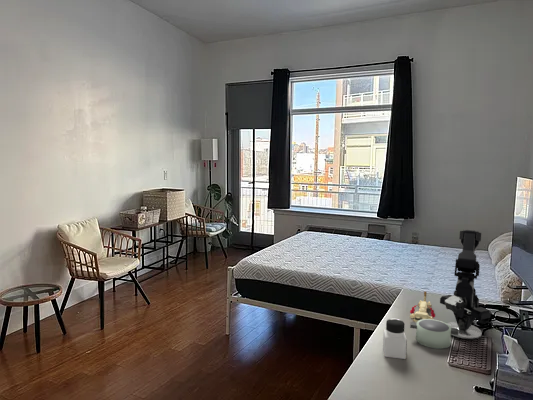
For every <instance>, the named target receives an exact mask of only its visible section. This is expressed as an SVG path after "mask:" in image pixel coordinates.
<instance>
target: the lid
mask: <svg viewBox="0 0 533 400" xmlns="http://www.w3.org/2000/svg"><path fill="white" fill-rule="evenodd" d="M447 324H448V325H450V327H451V328H457V329H458V335H454V334H451V336H453V337H456V338H461V339H464V340H476V339H475V338H477V339H480V338H481V337H482V333H483V332H482V330H481V329H480V328H479V327H477V326H475V325H474V324H471V325H470V327H469V328H468V329H467V330H466V329H465V318H459V326H458V325H457V321H451V322H447ZM479 337H480V338H479Z"/></svg>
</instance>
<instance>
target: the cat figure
mask: <svg viewBox="0 0 533 400" xmlns="http://www.w3.org/2000/svg"><path fill="white" fill-rule="evenodd" d="M427 294H428V293H427V291H424V292H423V300H421V299H420V300H419V302H417V305H416V304H415V305H413V306H412V307H411V309H410V311H409V313H410V314H409V318H411V319H413V320H412V322H416V323H417V321H419V320H422V319H434V318H435V317H436V313H435V310H434V309H433V308H432V307H433V306H432V305H433V304H431V301H427ZM417 306H418V307H419V309H418V311H416V308H417ZM428 309H429V310H430V315H429V313H428V312H427V310H428Z"/></svg>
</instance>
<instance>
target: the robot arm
mask: <svg viewBox="0 0 533 400" xmlns="http://www.w3.org/2000/svg"><path fill="white" fill-rule="evenodd" d="M458 240H459V241H460V245H461V247H462V251H461V252H459V253H458V256H457V258H455V266H454V277H457V281H456V285H455V290H454V292H453V295H451V294H447V295H442V296H441V297H440V298H439V303H440V304H441V305H442V306H443V305H444V306H445V308H446V309H447V310H448V311H449V310H450V311H451V312H453V315H454V318H455V322H457V325H458V326H459V318H465V329H466V330H467V329H468V328H469V327H470V325H474V324H475V321H474V320H479V321H481V320H486V319H490V318H491V316H492V313H491V311H490V309H487V308H485V307H482V306H480V307H479V305H480V299H479V297H478V295H477V294H476V293H477V291H476V289H475V279H476V280H477V279H478V277H480V266H481V265H480V264H479V263H480V262H479V261H477V255H476V253H475V252H476V251H477V249H479V247H480V243H481V242H482V232H479V231H478V230H474V229H473V230H472V229H463V230H460V231H459V239H458Z"/></svg>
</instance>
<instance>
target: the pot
mask: <svg viewBox="0 0 533 400" xmlns="http://www.w3.org/2000/svg"><path fill="white" fill-rule="evenodd" d="M447 323H448V322H447ZM447 323H446V322H445V321H442V320H438V319H434V318H433V319H429V318H428V319H422V320H419V321H417V323H416V322H414V321H410V325H409V328H410V329H416V331H415V339H416V342H417V343H419V345H422V346H425V347H427V348H430V349H436V350H437V349H439V350H440V349H441V350H442V349H447V348H449V347H450V346H451V341H452V339H451V338H452V335H451V334H454V335H458V329H457V328H451V327H450V325H448V324H447Z"/></svg>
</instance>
